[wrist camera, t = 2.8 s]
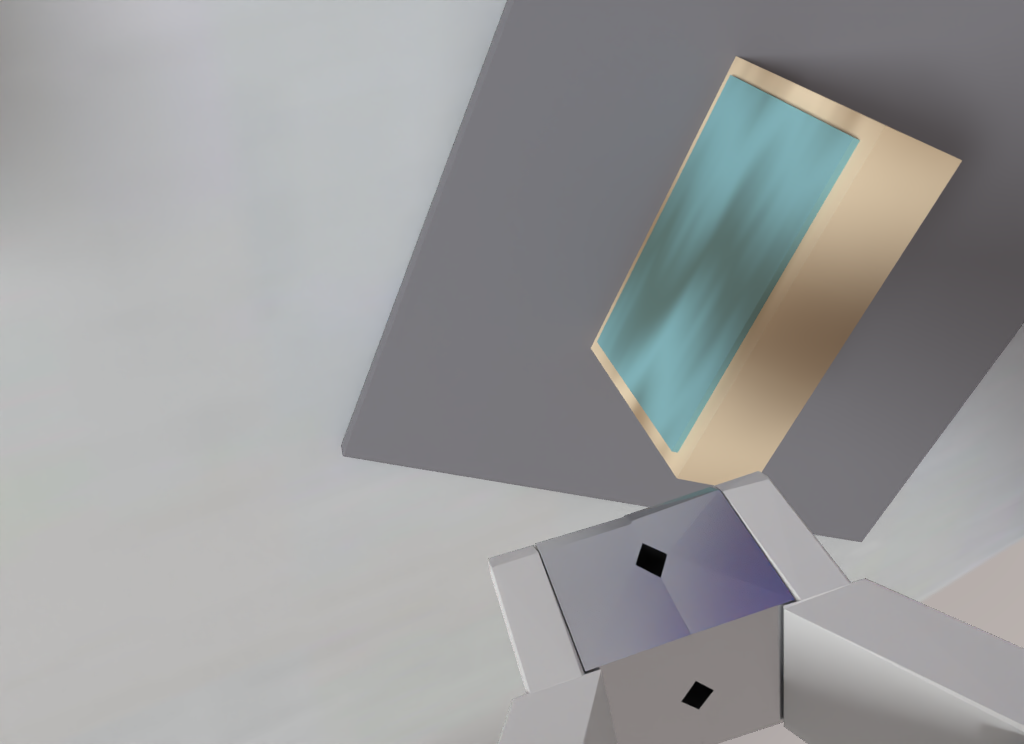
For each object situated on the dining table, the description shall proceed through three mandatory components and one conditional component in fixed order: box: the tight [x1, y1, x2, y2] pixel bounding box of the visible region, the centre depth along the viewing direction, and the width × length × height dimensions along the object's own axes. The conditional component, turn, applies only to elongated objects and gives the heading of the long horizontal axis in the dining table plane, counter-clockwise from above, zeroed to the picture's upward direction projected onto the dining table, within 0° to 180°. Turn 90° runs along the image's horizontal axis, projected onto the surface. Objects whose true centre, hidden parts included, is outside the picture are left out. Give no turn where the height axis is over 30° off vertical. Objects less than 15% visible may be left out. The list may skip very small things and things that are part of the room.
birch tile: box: [591, 56, 962, 485], centre depth 24 cm, size 10×3×7 cm, turn 157°
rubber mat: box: [341, 0, 1024, 542], centre depth 29 cm, size 22×24×1 cm
